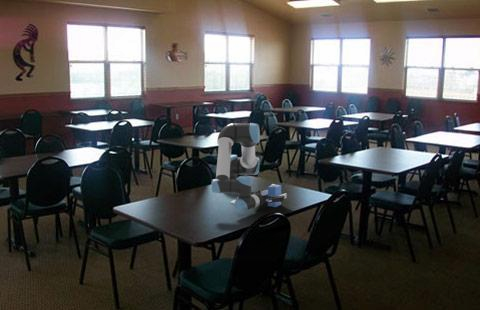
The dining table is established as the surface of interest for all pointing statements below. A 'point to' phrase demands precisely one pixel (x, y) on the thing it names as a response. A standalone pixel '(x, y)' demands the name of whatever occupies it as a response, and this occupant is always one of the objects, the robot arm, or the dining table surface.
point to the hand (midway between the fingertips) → (276, 193)
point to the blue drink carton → (274, 194)
